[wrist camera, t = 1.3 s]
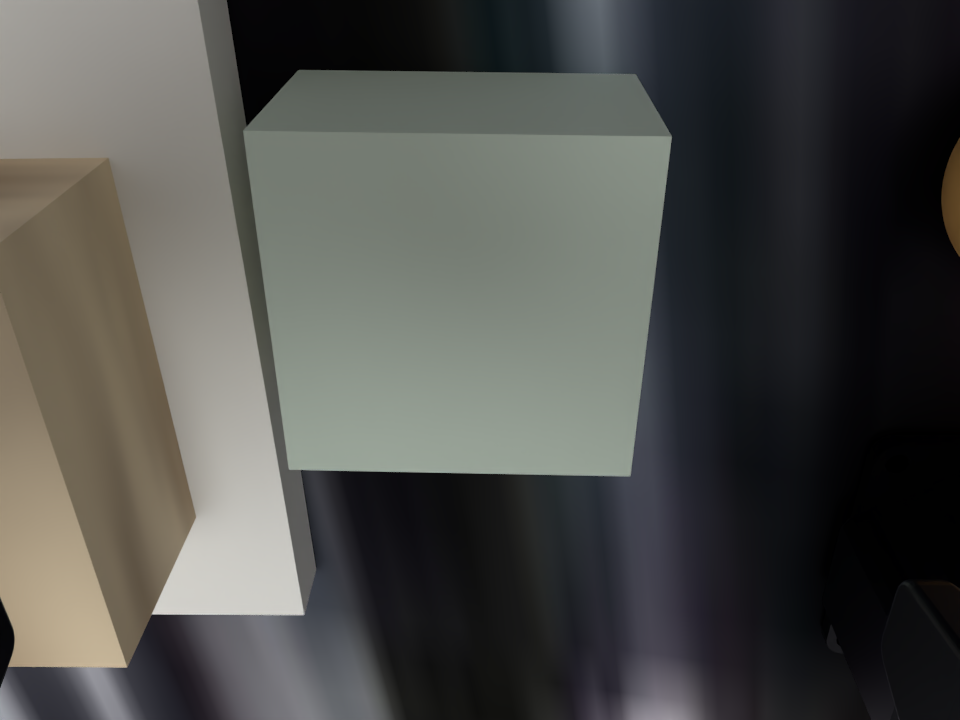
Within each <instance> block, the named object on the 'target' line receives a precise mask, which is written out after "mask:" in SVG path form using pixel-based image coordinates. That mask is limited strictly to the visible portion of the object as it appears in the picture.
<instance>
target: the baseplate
mask: <svg viewBox="0 0 960 720" xmlns="http://www.w3.org/2000/svg"><path fill="white" fill-rule="evenodd" d="M246 127H247V126H246V120H245V114H244V107H243V101H242V95H241V88H240V82H239V75H238V69H237V63H236V56H235V50H234V44H233V37H232V31H231V25H230V18H229V12H228V6H227V0H0V159H41V158H109V162H110V166H111V170H112V174H113V178H114V183H115V187H116V191H117V195H118V199H119V203H120V207H121V211H122V215H123V219H124V224H125V228H126V232H127V236H128V240H129V244H130V248H131V252H132V256H133V260H134V264H135V269H136V273H137V277H138V281H139V285H140V289H141V293H142V297H143V301H144V305H145V309H146V314H147V318H148V322H149V326H150V330H151V334H152V338H153V342H154V346H155V350H156V355H157V359H158V363H159V367H160V371H161V375H162V379H163V383H164V387H165V391H166V395H167V400H168V404H169V408H170V412H171V416H172V420H173V424H174V428H175V432H176V436H177V440H178V445H179V449H180V453H181V457H182V461H183V465H184V469H185V473H186V477H187V481H188V486H189V490H190V494H191V498H192V502H193V506H194V510H195V514H196V519H195V521H194V523H193V525H192V528H191V530H190V532H189V534H188V536H187V538H186V541H185V543H184V545H183V547H182V549H181V551H180V554H179V556H178V558H177V560H176V562H175V565H174V567H173V569H172V571H171V573H170V575H169V578H168V580H167V582H166V584H165V586H164V588H163V591H162V593H161V595H160V597H159V599H158V602H157V604H156V606H155V608H154V610H153V612H152V614H190V615H304V614H305V611H306V607H307V603H308V599H309V595H310V591H311V587H312V584H313V580H314V576H315V572H316V564H315V558H314V552H313V545H312V539H311V533H310V526H309V520H308V514H307V507H306V501H305V494H304V488H303V482H302V475H301V470H289V467H288V460H287V452H286V445H285V437H284V430H283V423H282V415H281V408H280V400H279V393H278V386H277V378H276V371H275V364H274V356H273V349H272V341H271V334H270V327H269V319H268V312H267V304H266V297H265V290H264V282H263V275H262V268H261V260H260V253H259V245H258V238H257V231H256V223H255V216H254V208H253V201H252V194H251V186H250V179H249V172H248V164H247V157H246V149H245V142H244V135H243V130H244V129H245V128H246Z"/></svg>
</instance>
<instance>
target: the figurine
mask: <svg viewBox="0 0 960 720" xmlns="http://www.w3.org/2000/svg"><path fill="white" fill-rule="evenodd" d="M941 203H942V214H943V219H944V224H945V227H946V231H947V233H948V236H949V239H950V241H951V243H952V245H953V247H954V249H955V250H956V252H957V254H958V255H959V257H960V138H959V140H958V141H957V143H956V145H955V147H954V149H953V151H952V153H951V156H950V158H949V161H948V163H947V166H946V170H945V174H944V178H943V184H942V195H941Z"/></svg>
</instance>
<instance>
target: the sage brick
mask: <svg viewBox="0 0 960 720" xmlns="http://www.w3.org/2000/svg"><path fill="white" fill-rule="evenodd" d="M243 135H244V142H245V149H246V157H247V164H248V172H249V179H250V186H251V194H252V201H253V208H254V216H255V223H256V231H257V238H258V245H259V253H260V260H261V268H262V275H263V282H264V290H265V297H266V304H267V312H268V319H269V327H270V334H271V341H272V349H273V356H274V364H275V371H276V378H277V386H278V393H279V400H280V408H281V415H282V423H283V430H284V437H285V445H286V452H287V460H288V467H289V470H329V471H379V472H430V473H481V474H532V475H583V476H630V475H631V467H632V459H633V451H634V443H635V434H636V426H637V418H638V410H639V402H640V394H641V385H642V377H643V369H644V361H645V353H646V344H647V336H648V328H649V320H650V312H651V304H652V295H653V287H654V279H655V271H656V263H657V254H658V246H659V238H660V230H661V222H662V214H663V205H664V197H665V189H666V181H667V173H668V165H669V156H670V148H671V140H672V136H671V134H670V132H669V131H668V129H667V127H666V125H665V124H664V122H663V120H662V119H661V117H660V115H659V113H658V112H657V110H656V108H655V107H654V105H653V103H652V101H651V100H650V98H649V96H648V94H647V93H646V91H645V89H644V88H643V86H642V84H641V82H640V81H639V79H638V77H637V75H636V74H590V73H509V72H427V71H346V70H298V71H297V72H296V73H295V74H294V75H293V76H292V78H291V79H290V80H289V81H288V82H287V83H286V84H285V85H284V86H283V87H282V89H281V90H280V91H279V92H278V93H277V94H276V95H275V96H274V97H273V98H272V100H271V101H270V102H269V103H268V104H267V105H266V106H265V107H264V108H263V109H262V111H261V112H260V113H259V114H258V115H257V116H256V117H255V118H254V119H253V120H252V122H251V123H250V124H249V125H248V126H247V127H246V128H245V129H244V130H243Z"/></svg>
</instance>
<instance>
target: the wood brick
mask: <svg viewBox="0 0 960 720" xmlns="http://www.w3.org/2000/svg"><path fill="white" fill-rule="evenodd" d="M195 519H196V514H195V510H194V506H193V502H192V498H191V494H190V490H189V486H188V481H187V477H186V473H185V469H184V465H183V461H182V457H181V453H180V449H179V445H178V440H177V436H176V432H175V428H174V424H173V420H172V416H171V412H170V408H169V404H168V400H167V395H166V391H165V387H164V383H163V379H162V375H161V371H160V367H159V363H158V359H157V355H156V350H155V346H154V342H153V338H152V334H151V330H150V326H149V322H148V318H147V314H146V309H145V305H144V301H143V297H142V293H141V289H140V285H139V281H138V277H137V273H136V269H135V264H134V260H133V256H132V252H131V248H130V244H129V240H128V236H127V232H126V228H125V224H124V219H123V215H122V211H121V207H120V203H119V199H118V195H117V191H116V187H115V183H114V178H113V174H112V170H111V166H110V162H109V158H41V159H0V598H1V600H2V602H3V605H4V607H5V610H6V612H7V614H8V617H9V619H10V621H11V624H12V626H13V629H14V636H15V644H14V650H13V654H12V657H11V660H10V663H9V665H8V667H128V665H129V662H130V660H131V658H132V656H133V654H134V652H135V649H136V647H137V645H138V643H139V641H140V639H141V636H142V634H143V632H144V630H145V628H146V625H147V623H148V621H149V619H150V617H151V615H152V612H153V610H154V608H155V606H156V604H157V602H158V599H159V597H160V595H161V593H162V591H163V588H164V586H165V584H166V582H167V580H168V578H169V575H170V573H171V571H172V569H173V567H174V565H175V562H176V560H177V558H178V556H179V554H180V551H181V549H182V547H183V545H184V543H185V541H186V538H187V536H188V534H189V532H190V530H191V528H192V525H193V523H194V521H195Z"/></svg>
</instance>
